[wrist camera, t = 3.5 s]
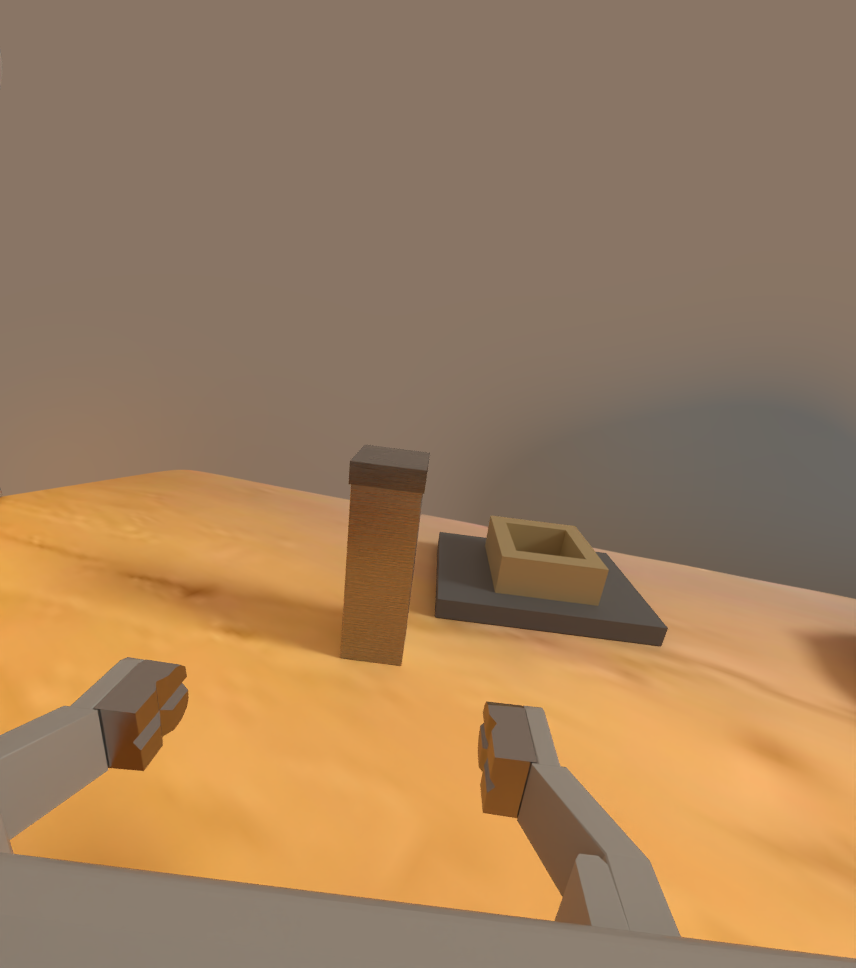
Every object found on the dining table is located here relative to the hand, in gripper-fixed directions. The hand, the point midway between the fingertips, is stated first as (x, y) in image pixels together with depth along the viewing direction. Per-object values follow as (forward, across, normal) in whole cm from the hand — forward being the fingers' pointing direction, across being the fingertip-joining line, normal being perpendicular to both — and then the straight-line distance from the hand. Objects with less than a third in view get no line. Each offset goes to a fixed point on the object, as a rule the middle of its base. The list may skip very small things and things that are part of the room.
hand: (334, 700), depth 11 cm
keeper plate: (+21, -11, +8) cm, 25 cm away
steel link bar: (+12, 0, +8) cm, 15 cm away
